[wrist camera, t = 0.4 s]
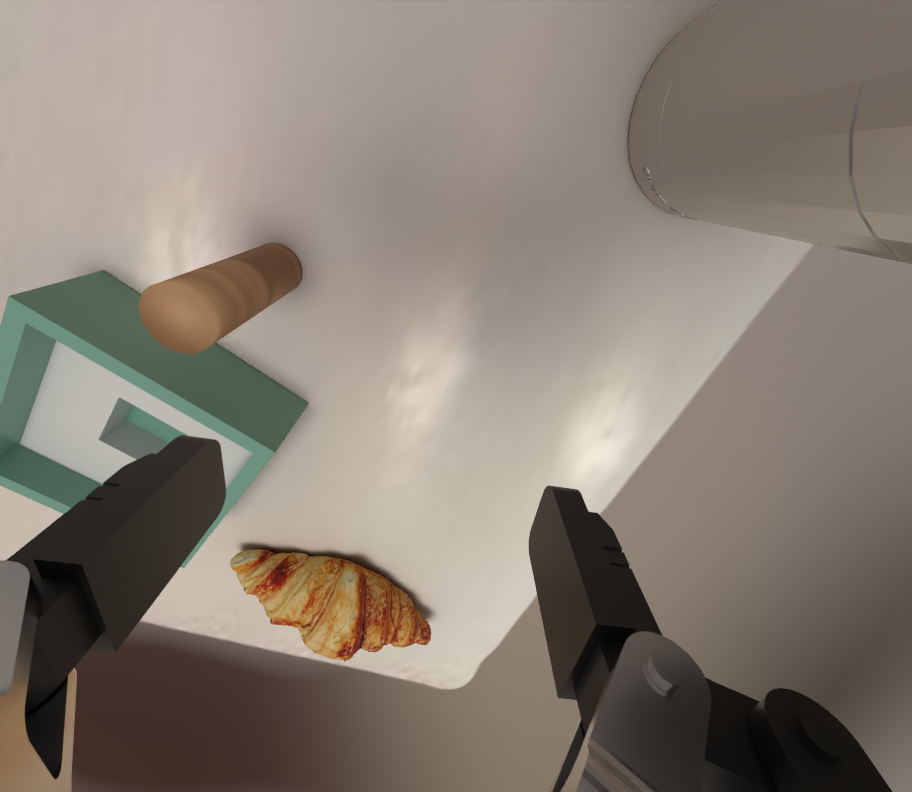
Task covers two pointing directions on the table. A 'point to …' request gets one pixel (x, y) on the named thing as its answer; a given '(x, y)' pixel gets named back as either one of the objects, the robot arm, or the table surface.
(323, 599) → the croissant
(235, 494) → the box
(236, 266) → the peg
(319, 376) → the table surface
